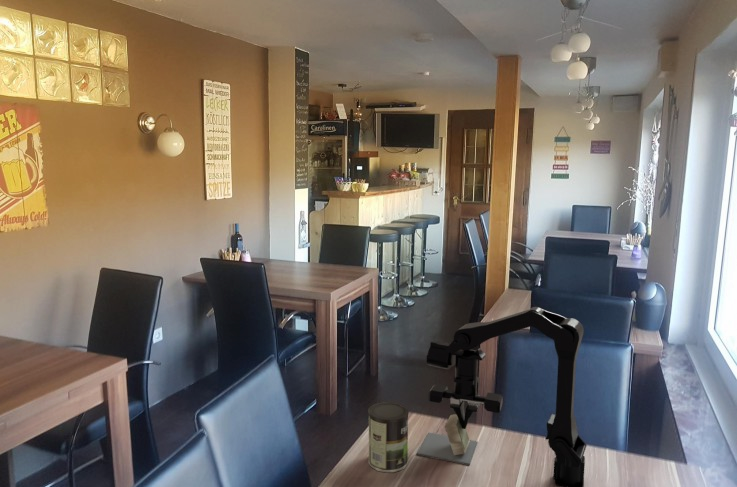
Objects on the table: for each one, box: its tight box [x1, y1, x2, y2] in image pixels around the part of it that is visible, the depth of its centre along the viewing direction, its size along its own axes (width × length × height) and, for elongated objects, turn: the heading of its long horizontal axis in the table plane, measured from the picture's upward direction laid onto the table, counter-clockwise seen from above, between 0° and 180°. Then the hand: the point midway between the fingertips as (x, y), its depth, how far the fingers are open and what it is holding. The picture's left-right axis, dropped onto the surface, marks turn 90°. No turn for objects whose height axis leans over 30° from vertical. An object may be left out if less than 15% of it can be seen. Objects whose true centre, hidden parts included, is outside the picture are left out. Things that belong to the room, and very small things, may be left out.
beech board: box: [444, 413, 471, 455], centre depth 144 cm, size 3×7×8 cm, turn 159°
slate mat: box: [416, 431, 479, 466], centre depth 146 cm, size 14×12×1 cm
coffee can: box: [367, 401, 410, 473], centre depth 139 cm, size 10×10×14 cm
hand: (464, 428), depth 144 cm, fingers closed
